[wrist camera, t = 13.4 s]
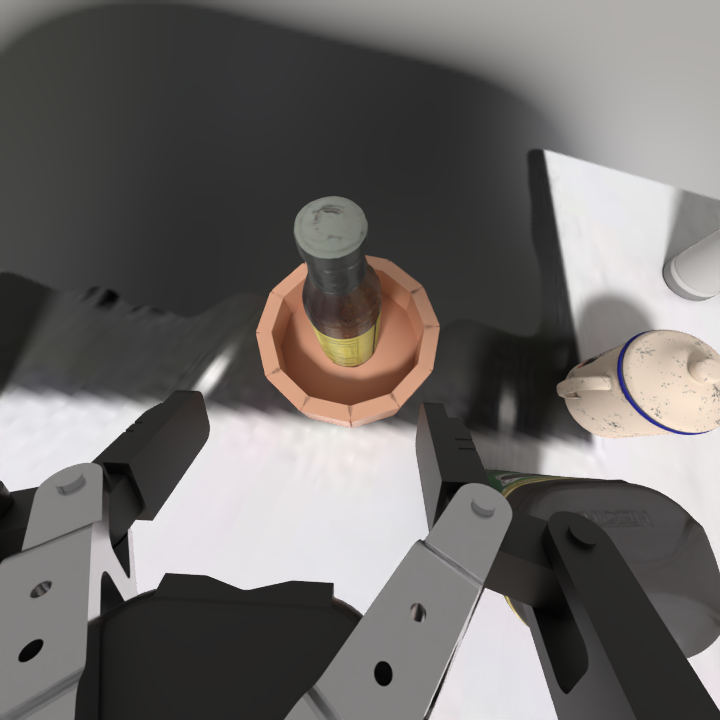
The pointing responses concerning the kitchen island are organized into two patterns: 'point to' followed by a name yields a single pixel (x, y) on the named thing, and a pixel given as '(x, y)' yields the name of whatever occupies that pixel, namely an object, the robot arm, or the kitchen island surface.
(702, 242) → the travel mug
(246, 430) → the kitchen island surface
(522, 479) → the coffee jar
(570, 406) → the teacup with lid
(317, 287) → the sauce bottle
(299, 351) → the terracotta bowl
